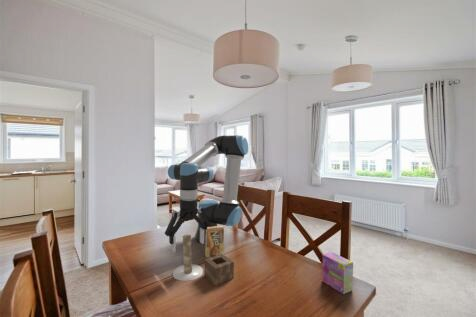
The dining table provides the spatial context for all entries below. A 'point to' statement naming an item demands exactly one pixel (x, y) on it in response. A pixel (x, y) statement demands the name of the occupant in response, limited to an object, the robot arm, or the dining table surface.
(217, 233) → the candy box
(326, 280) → the box
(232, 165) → the robot arm
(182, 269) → the white plate
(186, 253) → the dowel
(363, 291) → the dining table surface
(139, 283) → the dining table surface
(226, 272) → the pen pot
